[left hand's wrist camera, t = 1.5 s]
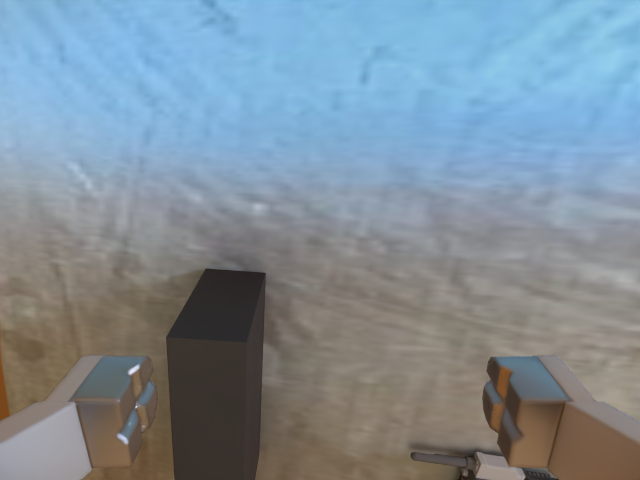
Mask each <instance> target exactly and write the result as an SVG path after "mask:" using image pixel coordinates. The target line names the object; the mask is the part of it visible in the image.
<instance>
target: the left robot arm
mask: <svg viewBox="0 0 640 480" xmlns="http://www.w3.org/2000/svg"><path fill="white" fill-rule="evenodd" d="M152 373H153V366H152V362H151V359H150V358H149V357H148V356H108V355H107V356H104V355H86V356H84V357H81V358H80V359H79V360H78V361H77V363H76V364H75V365H74V366H73V367H72V368H71V370H70V371H69V372H68V373H67V374H66V376H65V377H64V378H63V379H62V380H61V381H60V383H59V384H58V385H57V386H56V387H55V389H54V390H53V391H52V392H51V393H50V394H49V396H48V397H47V398H46V399H45V400H44V402H35V403H33V404H31V405H30V406H28V407H26V408H24V409H22V410H20V411H18V412H16V413H14V414H13V415H11V416H9V417H7V418H5V419H3V420H1V421H0V480H81V479H83V478H84V477H85V476H86V475H87V474H88V473H89V472H91V471H92V468H113V467H131V466H132V464H133V462H134V460H135V458H136V456H137V454H138V452H139V449H140V447H141V445H142V443H143V441H142V435H141V434H142V433H143V432H144V431H146V430H147V429H148V428H150V426H151V424H152V422H153V420H154V418H155V413H156V408H157V389H156V386H155V385H154V384H153V383H152V382H151V381H150V380H149V378H150V377H151V375H152ZM487 373H488V375H489V377H490V378H491V380H490V381H489V382H488V383H487V384H486V385H485V386H484V390H483V397H482V399H483V410H484V414H485V417H486V420H487V422H488V424H489V426H490V428H492V429H493V430H494V431H496V432H497V433H498V434H499V435H498V441H497V443H498V445H499V447H500V449H501V452H502V454H503V456H504V458H505V460H506V462H507V464H508V466H509V467H526V468H548V471H550V472H551V473H552V474H553V475H554V476H555V477H557V478H558V479H559V480H640V421H639V420H637V419H635V418H633V417H631V416H629V415H627V414H626V413H624V412H622V411H620V410H618V409H616V408H614V407H612V406H610V405H609V404H607V403H605V402H596V400H595V399H594V398H593V397H592V396H591V395H590V393H589V392H588V391H587V390H586V389H585V387H584V386H583V385H582V384H581V383H580V381H579V380H578V379H577V378H576V377H575V376H574V374H573V373H572V372H571V371H570V370H569V368H568V367H567V366H566V365H565V364H564V363H563V361H562V360H561V359H560V358H559V357H557V356H555V355H543V356H527V357H491V358H490V360H489V361H488V366H487Z"/></svg>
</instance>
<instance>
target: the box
mask: <svg viewBox="0 0 640 480" xmlns="http://www.w3.org/2000/svg"><path fill="white" fill-rule="evenodd" d="M265 277H266V273H257V272H243V271H229V270H215V269H206V270H205V271H204V273H203V275H202V277H201V278H200V280H199V282H198V283H197V285H196V287H195V289H194V290H193V292H192V294H191V296H190V297H189V299H188V301H187V303H186V304H185V306H184V308H183V309H182V311H181V313H180V315H179V316H178V318H177V320H176V322H175V323H174V325H173V327H172V329H171V330H170V332H169V334H168V335H167V337H166V340H167V357H168V374H169V391H170V408H171V425H172V442H173V460H174V477H175V480H255V476H256V470H257V463H258V457H259V442H260V414H261V387H262V360H263V332H264V305H265Z"/></svg>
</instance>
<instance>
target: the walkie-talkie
mask: <svg viewBox="0 0 640 480" xmlns="http://www.w3.org/2000/svg"><path fill="white" fill-rule="evenodd" d="M411 458H412V459H413V460H415V461H422V462H430V463H437V464H444V465H451V466H459V467H464V468H461V473H462V477H461V479H460V480H559V479H555V478H551V476H550V475H548V474H541V473H533V472H526V471H523V470H522V468H517V467H509V466H508V464H507V462H506V460H505V458H504V457H502V456H495V455H489V454H483V453H482V452H475V454H474V457H473V458H470V457H465V458H462V457H455V456H448V455H440V454H434V455H432V454H425V453H417V452H412V453H411Z"/></svg>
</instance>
